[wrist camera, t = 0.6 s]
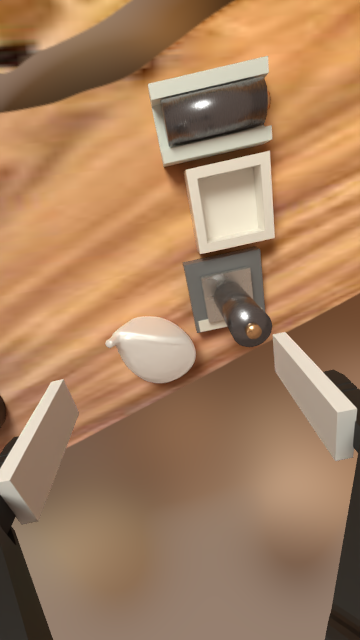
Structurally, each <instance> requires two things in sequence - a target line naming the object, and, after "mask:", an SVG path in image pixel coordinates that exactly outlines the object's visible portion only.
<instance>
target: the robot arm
mask: <svg viewBox="0 0 360 640" xmlns="http://www.w3.org/2000/svg"><path fill="white" fill-rule="evenodd" d="M273 345H274V346H273V347H274V360H275V372H276V373H277V375H278V376H279V378H280V379H281V381H282V382H283V384H284V385H285V387H286V388H287V389H288V391H289V393H290V394H291V396H292V397H293V399H294V400H295V402H296V403H297V405H298V406H299V408H300V409H301V411H302V412H303V413H304V415H305V417H306V418H307V420H308V421H309V422H310V424H311V426H312V427H313V429H314V430H315V432H316V433H317V435H318V436H319V438H320V439H321V441H322V442H323V443H324V445H325V446H326V448H327V450H328V451H329V452H330V454H331V455H332V457H333V458H334V460H335V461H338V460H343V459H348V458H353V451H354V449H355V450H356V451H357V452H358V458H357V464H356V470H355V476H354V482H353V487H352V493H351V499H350V505H349V511H348V516H347V522H346V528H345V534H344V540H343V545H342V551H341V557H340V563H339V569H338V575H337V580H336V586H335V593H334V598H333V604H332V609H331V613H330V617H329V621H328V626H327V631H326V637H325V640H360V390H359V389H357V387H356V386H355V385H354V384H353V383H351V381H350V380H349V379H348V378H347V377H346V376H345V375H343V374H341V373H339V372H337V371H335V370H330V371H325V372H322V371H321V370H320V369H319V368H318V366H317V365H316V364H314V362H313V361H312V360H311V359H310V358H309V357H308V356H307V355H306V354H305V353H304V352H303V351H302V349H301V348H300V347H299V346H298V345H297V344H296V343H295V342H294V341H293V340H292V339H291V338H290V337H289V336H288V335H287V334H286V333H285V332H283V333H278V334H273ZM78 415H79V411H78V409H77V407H76V405H75V403H74V401H73V398H72V396H71V394H70V392H69V390H68V388H67V386H66V384H65V381H64V379H62V380H58V381H53V382H51V384H50V385H49V387H48V389H47V390H46V392H45V394H44V395H43V397H42V399H41V400H40V402H39V404H38V406H37V407H36V409H35V411H34V412H33V414H32V416H31V417H30V419H29V421H28V422H27V424H26V426H25V428H24V429H23V431H22V433H21V434H20V436H18V437H14V438H13V439H12V440H11V441H10V442H9V443H8V444H7V445H6V446H5V447H4V449H3V451H2V452H1V454H0V640H53V638H52V635H51V632H50V630H49V627H48V624H47V621H46V618H45V616H44V613H43V610H42V607H41V604H40V602H39V599H38V596H37V593H36V590H35V587H34V584H33V582H32V579H31V576H30V573H29V570H28V567H27V564H26V562H25V559H24V556H23V553H22V550H21V547H20V545H19V542H18V539H17V536H16V533H15V530H14V529H13V528H12V527H11V525H12V523H13V521H14V519H15V517H16V518H17V519H18V521H19V522H20V523H21V524H27V523H32V522H36V521H38V520H39V518H40V516H41V513H42V510H43V508H44V505H45V502H46V500H47V497H48V494H49V491H50V489H51V486H52V484H53V481H54V478H55V476H56V473H57V470H58V468H59V465H60V463H61V460H62V457H63V454H64V452H65V449H66V447H67V444H68V441H69V439H70V436H71V433H72V431H73V428H74V425H75V423H76V420H77V417H78ZM5 416H6V410H5V405H4V403H3V401H2V399H1V397H0V427H1V426H2V424H3V423H4V420H5Z"/></svg>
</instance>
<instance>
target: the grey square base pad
mask: <svg viewBox="0 0 360 640" xmlns="http://www.w3.org/2000/svg"><path fill="white" fill-rule="evenodd" d="M183 266H184V271H185V276H186V281H187V286H188V291H189V296H190V301H191V306H192V311H193V316H194V321H195V326H196V330H197V333H200V332H205V331H209V330H214V329H219V328H223V327H228V326H227V325H226V323H225V321H224V320H219V321H214V322H210V323H209V321H208V317H207V312H206V306H205V300H204V295H203V289H202V283H201V278H200V277H201V276H206V275H210V274H215V273H219V272H224V271H229V270H233V269H238V268H242V267H247V266H248V267H250V270H251V281H252V291H253V300H254V301H255V302H256V303H257V304H258V305H259V307H260V308H261V309H262V310H263V311H264V312H265V304H264V292H263V279H262V267H261V254H260V249H259V248H257V247H252V248H247V249H243V250H238V251H234V252H229V253H225V254H220V255H215V256H211V257H206V258H202V259H197V260H193V261H188V262H183Z"/></svg>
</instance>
